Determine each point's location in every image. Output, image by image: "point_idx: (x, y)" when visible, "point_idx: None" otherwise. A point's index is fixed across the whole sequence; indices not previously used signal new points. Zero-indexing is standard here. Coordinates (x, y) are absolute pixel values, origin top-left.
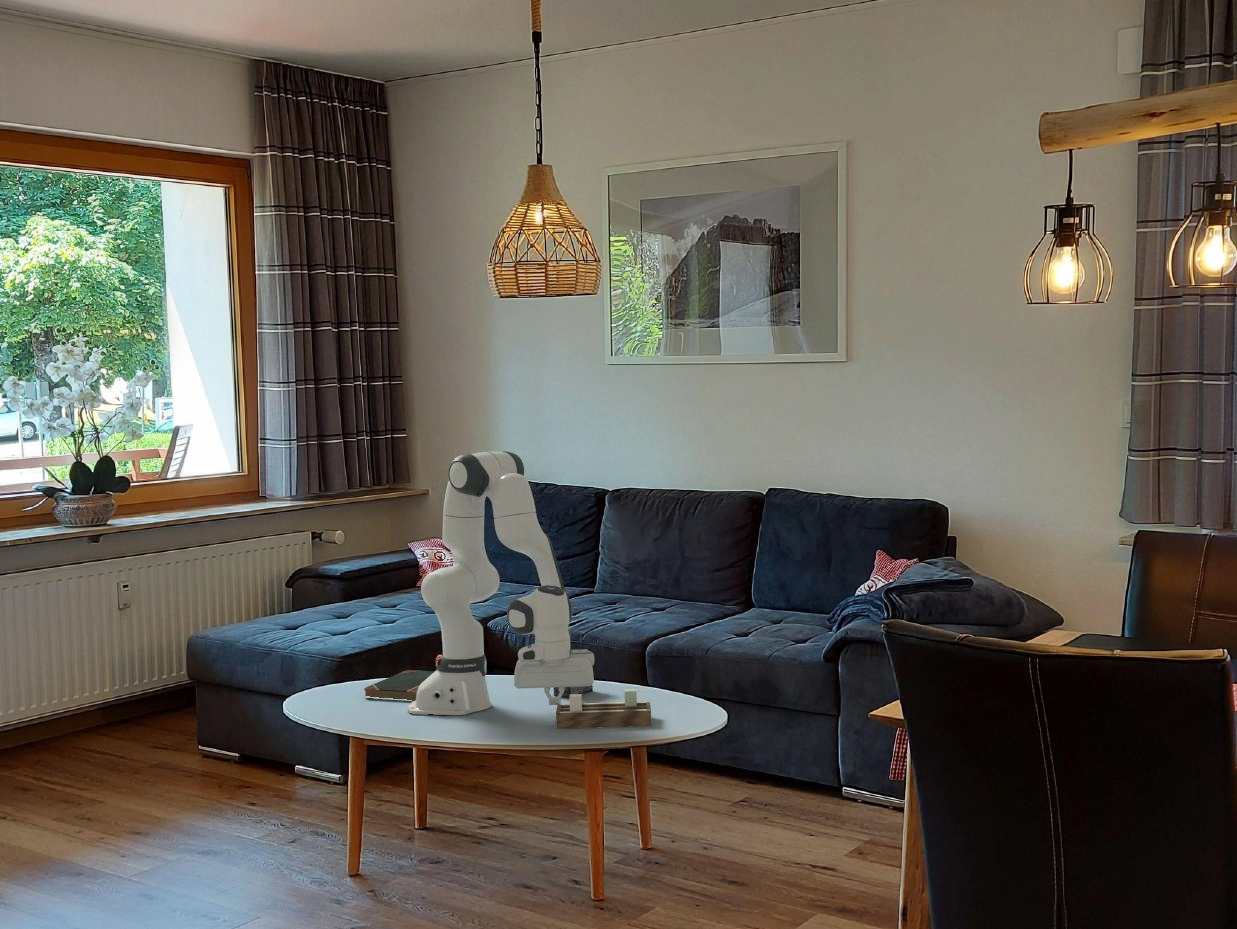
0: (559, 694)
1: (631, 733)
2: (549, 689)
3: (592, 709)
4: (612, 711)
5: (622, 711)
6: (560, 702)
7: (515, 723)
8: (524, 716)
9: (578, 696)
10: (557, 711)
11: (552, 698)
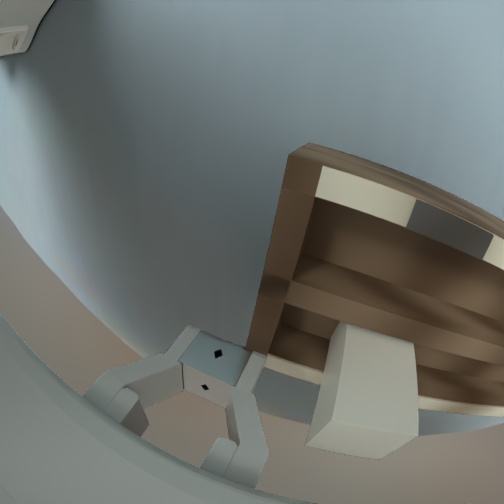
0: (229, 435)
1: (458, 417)
2: (142, 434)
3: (463, 351)
4: (479, 414)
5: (501, 415)
6: (261, 372)
7: (116, 152)
8: (150, 37)
9: (362, 457)
10: (256, 337)
11: (192, 392)
